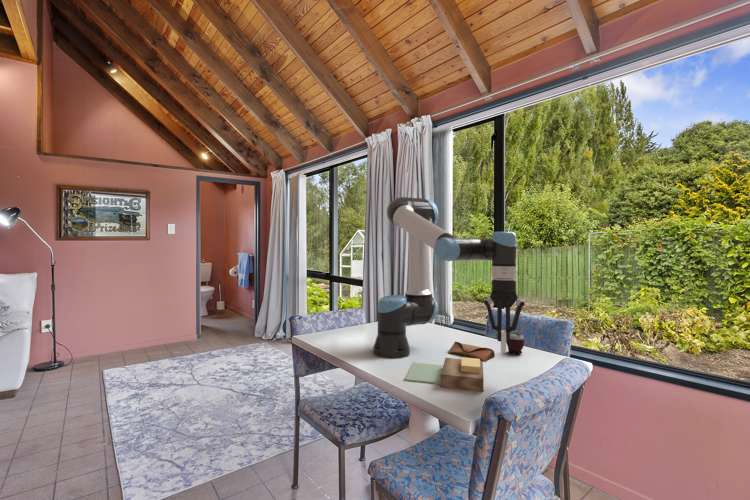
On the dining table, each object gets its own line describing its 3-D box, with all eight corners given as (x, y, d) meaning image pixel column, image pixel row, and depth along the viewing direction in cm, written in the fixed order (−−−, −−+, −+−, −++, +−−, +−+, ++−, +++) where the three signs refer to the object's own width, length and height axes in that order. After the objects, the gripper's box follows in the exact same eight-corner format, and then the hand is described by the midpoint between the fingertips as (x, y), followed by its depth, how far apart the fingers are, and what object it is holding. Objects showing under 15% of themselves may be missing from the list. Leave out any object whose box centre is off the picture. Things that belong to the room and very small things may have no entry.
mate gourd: (502, 351, 159) (503, 316, 159) (519, 350, 161) (520, 315, 161) (513, 356, 152) (513, 319, 152) (530, 355, 154) (530, 319, 154)
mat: (404, 380, 124) (404, 379, 124) (413, 363, 142) (413, 362, 142) (441, 384, 121) (441, 382, 121) (445, 366, 139) (445, 365, 139)
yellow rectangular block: (460, 371, 122) (460, 365, 122) (461, 362, 131) (462, 357, 131) (480, 373, 120) (480, 367, 120) (479, 364, 129) (479, 358, 129)
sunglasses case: (444, 353, 156) (448, 337, 158) (451, 358, 160) (455, 343, 163) (487, 362, 145) (490, 345, 147) (492, 367, 149) (496, 351, 152)
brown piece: (440, 386, 119) (440, 374, 119) (445, 368, 137) (445, 357, 137) (483, 391, 116) (483, 378, 116) (482, 372, 133) (482, 360, 133)
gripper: (483, 279, 120) (482, 352, 121) (526, 280, 117) (526, 356, 117) (482, 277, 128) (482, 346, 128) (523, 278, 124) (523, 349, 124)
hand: (503, 351), depth 123 cm, fingers closed
